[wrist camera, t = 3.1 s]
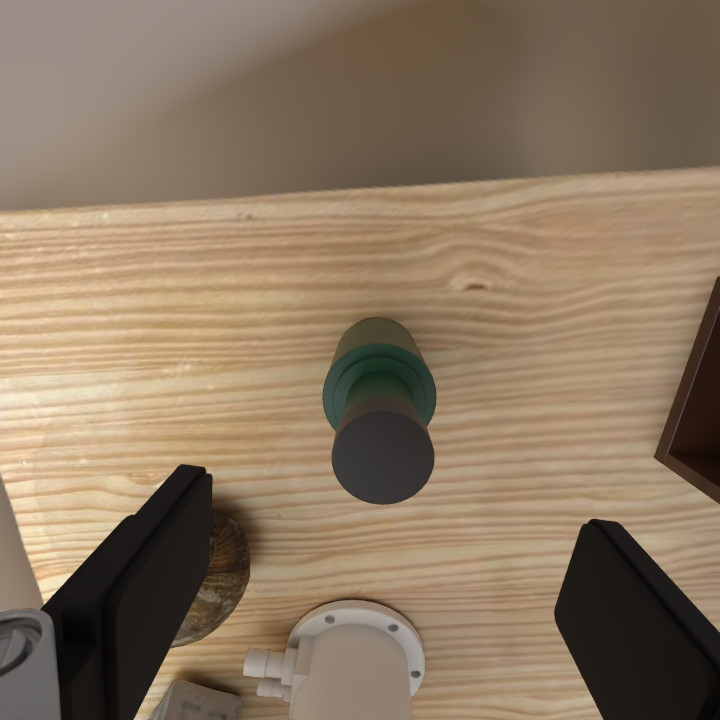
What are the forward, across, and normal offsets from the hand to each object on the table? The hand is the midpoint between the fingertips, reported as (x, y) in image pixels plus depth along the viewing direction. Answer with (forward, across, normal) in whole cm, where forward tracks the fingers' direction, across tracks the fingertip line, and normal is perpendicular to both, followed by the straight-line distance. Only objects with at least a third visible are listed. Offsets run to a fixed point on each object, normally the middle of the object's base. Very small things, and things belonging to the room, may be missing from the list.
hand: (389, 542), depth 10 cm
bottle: (+20, 0, +1) cm, 20 cm away
